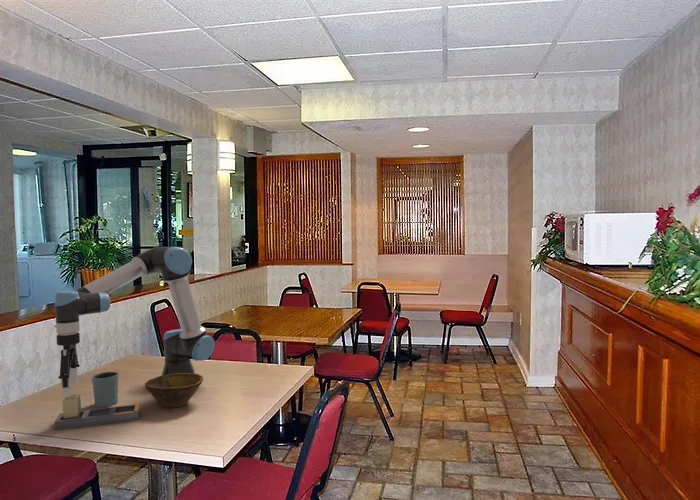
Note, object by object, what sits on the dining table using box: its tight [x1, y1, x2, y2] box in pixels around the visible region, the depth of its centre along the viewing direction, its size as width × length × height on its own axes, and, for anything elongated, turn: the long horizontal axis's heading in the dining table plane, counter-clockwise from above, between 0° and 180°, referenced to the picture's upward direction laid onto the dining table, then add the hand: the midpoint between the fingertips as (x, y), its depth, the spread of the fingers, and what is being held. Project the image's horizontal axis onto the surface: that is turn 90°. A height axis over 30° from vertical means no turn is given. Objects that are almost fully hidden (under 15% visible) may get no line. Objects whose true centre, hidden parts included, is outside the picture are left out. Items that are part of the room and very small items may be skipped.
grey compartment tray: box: [54, 403, 141, 431], centre depth 199 cm, size 28×9×3 cm, turn 108°
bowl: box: [144, 372, 204, 409], centre depth 216 cm, size 22×23×10 cm
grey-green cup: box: [91, 371, 120, 408], centre depth 218 cm, size 10×10×12 cm
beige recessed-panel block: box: [62, 393, 82, 420], centre depth 196 cm, size 5×5×10 cm
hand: (70, 390), depth 196 cm, fingers open, 13 cm apart
